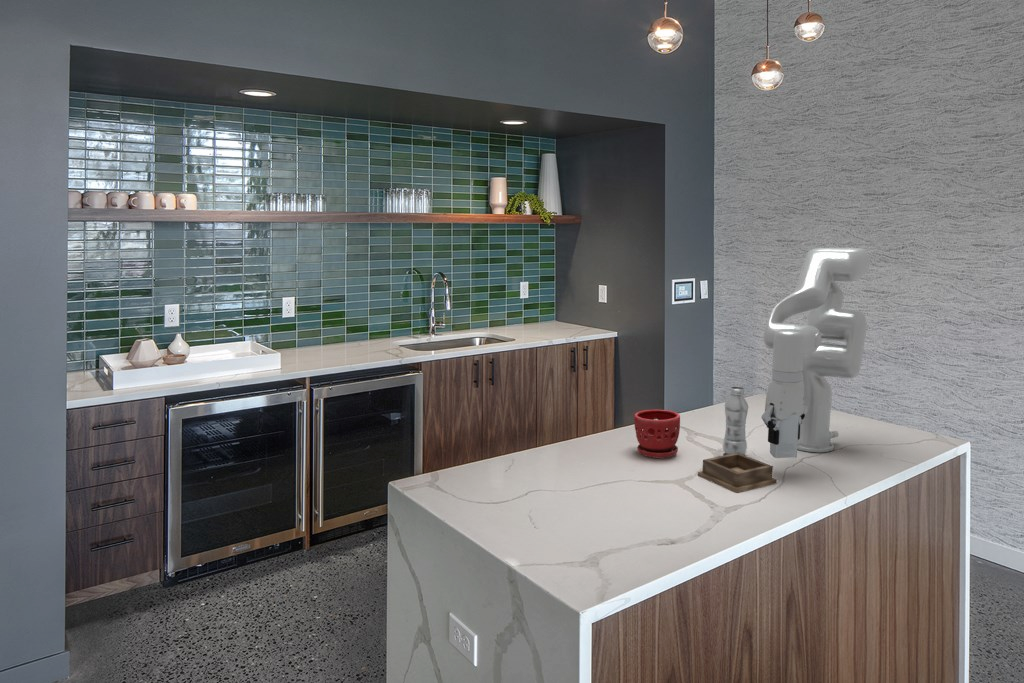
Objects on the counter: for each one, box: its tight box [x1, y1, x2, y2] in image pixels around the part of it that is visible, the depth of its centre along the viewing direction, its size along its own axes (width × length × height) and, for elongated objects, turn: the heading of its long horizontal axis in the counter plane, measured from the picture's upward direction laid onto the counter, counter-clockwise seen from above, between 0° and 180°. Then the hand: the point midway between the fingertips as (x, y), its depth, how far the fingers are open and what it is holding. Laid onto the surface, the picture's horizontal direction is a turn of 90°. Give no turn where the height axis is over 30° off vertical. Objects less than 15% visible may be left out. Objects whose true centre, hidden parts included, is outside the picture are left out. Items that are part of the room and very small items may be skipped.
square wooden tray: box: [697, 453, 778, 494], centre depth 188 cm, size 14×14×4 cm
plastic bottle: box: [722, 386, 749, 455], centre depth 206 cm, size 6×7×20 cm
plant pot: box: [633, 409, 681, 459], centre depth 209 cm, size 13×13×12 cm
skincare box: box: [769, 413, 799, 459], centre depth 190 cm, size 6×4×12 cm
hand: (783, 440), depth 191 cm, fingers closed on skincare box, 7 cm apart
